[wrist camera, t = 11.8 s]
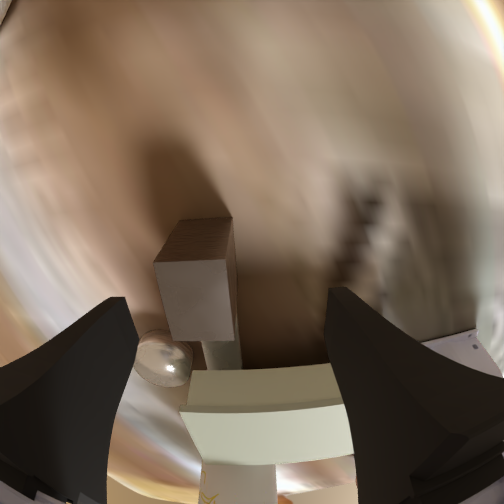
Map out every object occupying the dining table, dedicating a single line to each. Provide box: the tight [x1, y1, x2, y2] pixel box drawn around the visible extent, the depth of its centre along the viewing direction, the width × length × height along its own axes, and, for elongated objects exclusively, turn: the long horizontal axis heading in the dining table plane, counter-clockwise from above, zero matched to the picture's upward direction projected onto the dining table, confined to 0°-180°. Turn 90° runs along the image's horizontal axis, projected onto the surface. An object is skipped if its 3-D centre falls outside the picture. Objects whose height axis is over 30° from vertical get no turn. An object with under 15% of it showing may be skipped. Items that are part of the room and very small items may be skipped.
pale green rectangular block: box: [179, 363, 354, 465], centre depth 21 cm, size 17×10×8 cm, turn 93°
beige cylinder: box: [198, 459, 278, 504], centre depth 25 cm, size 8×8×12 cm
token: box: [133, 330, 194, 387], centre depth 23 cm, size 5×5×2 cm
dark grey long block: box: [153, 217, 243, 370], centre depth 19 cm, size 4×16×6 cm, turn 3°
